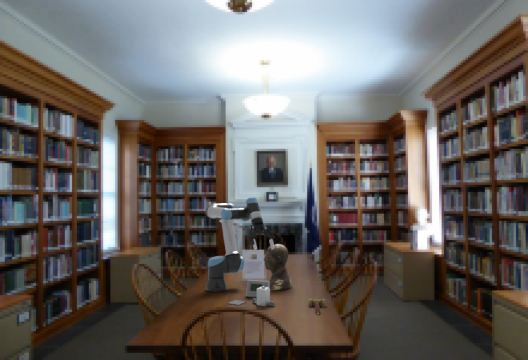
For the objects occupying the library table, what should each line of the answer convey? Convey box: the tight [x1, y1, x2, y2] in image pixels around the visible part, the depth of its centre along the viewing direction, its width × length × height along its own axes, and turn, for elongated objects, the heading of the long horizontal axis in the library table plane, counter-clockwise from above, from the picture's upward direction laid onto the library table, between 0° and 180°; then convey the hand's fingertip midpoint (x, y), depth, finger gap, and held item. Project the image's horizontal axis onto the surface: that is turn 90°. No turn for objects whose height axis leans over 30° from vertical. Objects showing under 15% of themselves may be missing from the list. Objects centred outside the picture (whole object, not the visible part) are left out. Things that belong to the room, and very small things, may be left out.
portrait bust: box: [263, 243, 292, 291], centre depth 294 cm, size 21×35×31 cm, turn 173°
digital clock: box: [245, 279, 270, 299], centre depth 260 cm, size 16×9×11 cm, turn 60°
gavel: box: [308, 298, 326, 316], centre depth 228 cm, size 21×5×10 cm
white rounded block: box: [254, 286, 272, 307], centre depth 241 cm, size 12×6×11 cm, turn 58°
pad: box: [227, 299, 246, 307], centre depth 244 cm, size 8×8×1 cm
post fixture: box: [252, 297, 275, 307], centre depth 241 cm, size 15×2×8 cm, turn 58°
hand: (264, 249), depth 246 cm, fingers open, 13 cm apart
